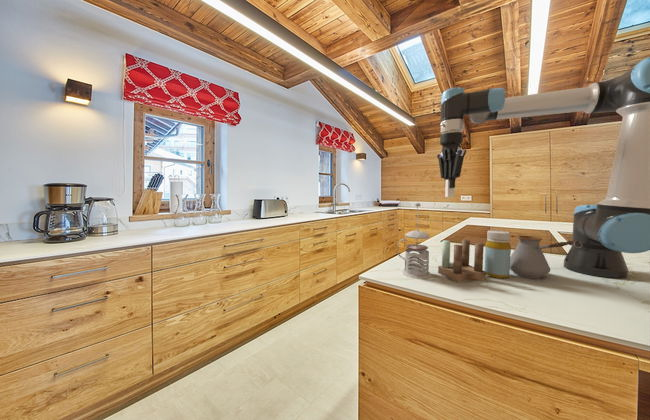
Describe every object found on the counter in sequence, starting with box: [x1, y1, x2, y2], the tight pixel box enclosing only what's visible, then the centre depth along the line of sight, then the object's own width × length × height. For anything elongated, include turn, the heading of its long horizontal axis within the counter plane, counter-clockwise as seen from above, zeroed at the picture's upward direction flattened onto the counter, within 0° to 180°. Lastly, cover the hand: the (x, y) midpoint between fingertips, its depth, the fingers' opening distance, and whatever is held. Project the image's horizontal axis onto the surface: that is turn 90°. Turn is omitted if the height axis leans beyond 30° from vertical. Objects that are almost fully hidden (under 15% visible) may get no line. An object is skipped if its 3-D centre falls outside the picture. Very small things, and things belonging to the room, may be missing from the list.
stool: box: [437, 239, 487, 283], centre depth 82 cm, size 11×9×12 cm
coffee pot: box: [510, 235, 582, 279], centre depth 78 cm, size 21×12×15 cm, turn 3°
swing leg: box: [441, 240, 454, 268], centre depth 85 cm, size 7×2×9 cm, turn 102°
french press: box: [396, 202, 432, 280], centre depth 85 cm, size 10×12×25 cm
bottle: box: [483, 229, 512, 279], centre depth 82 cm, size 7×7×15 cm
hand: (449, 196), depth 93 cm, fingers closed
